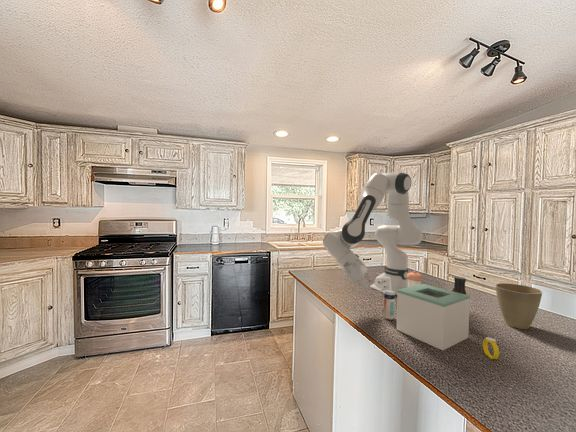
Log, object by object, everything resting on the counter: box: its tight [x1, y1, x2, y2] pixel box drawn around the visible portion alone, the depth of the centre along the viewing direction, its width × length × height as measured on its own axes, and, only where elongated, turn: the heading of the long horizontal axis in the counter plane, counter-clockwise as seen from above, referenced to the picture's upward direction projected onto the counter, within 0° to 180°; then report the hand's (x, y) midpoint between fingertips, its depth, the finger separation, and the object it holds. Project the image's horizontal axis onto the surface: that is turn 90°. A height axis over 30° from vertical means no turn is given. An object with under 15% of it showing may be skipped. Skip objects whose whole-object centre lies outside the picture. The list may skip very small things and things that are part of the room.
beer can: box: [382, 290, 396, 320], centre depth 116 cm, size 5×5×12 cm
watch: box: [482, 336, 500, 360], centre depth 86 cm, size 6×3×6 cm, turn 173°
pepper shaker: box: [407, 270, 424, 287], centre depth 124 cm, size 7×7×19 cm
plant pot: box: [494, 282, 543, 330], centre depth 110 cm, size 15×15×16 cm
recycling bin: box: [396, 283, 471, 351], centre depth 101 cm, size 18×18×16 cm
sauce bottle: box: [451, 276, 468, 295], centre depth 110 cm, size 7×6×20 cm
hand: (369, 284), depth 119 cm, fingers open, 8 cm apart
